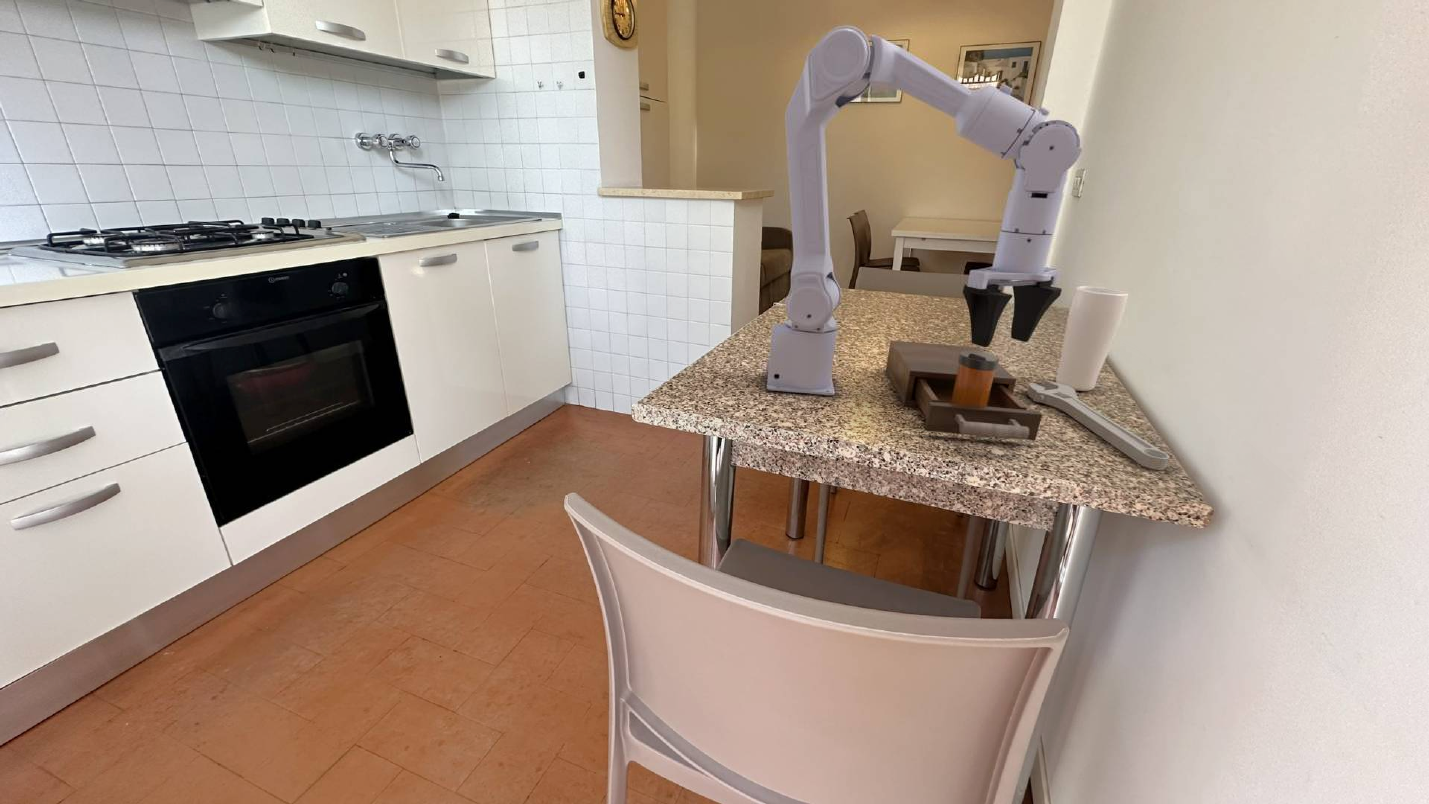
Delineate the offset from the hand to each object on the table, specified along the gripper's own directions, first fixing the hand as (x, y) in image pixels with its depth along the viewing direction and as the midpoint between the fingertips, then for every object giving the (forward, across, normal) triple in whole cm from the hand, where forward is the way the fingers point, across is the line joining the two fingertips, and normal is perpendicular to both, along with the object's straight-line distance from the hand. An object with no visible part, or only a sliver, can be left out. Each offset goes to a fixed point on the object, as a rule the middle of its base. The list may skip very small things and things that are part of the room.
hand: (1000, 342), depth 73 cm
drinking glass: (+10, +24, +2) cm, 26 cm away
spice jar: (+8, -6, -2) cm, 10 cm away
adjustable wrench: (+10, +10, -8) cm, 16 cm away
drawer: (+9, -6, -2) cm, 11 cm away
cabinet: (+10, +1, +8) cm, 13 cm away
